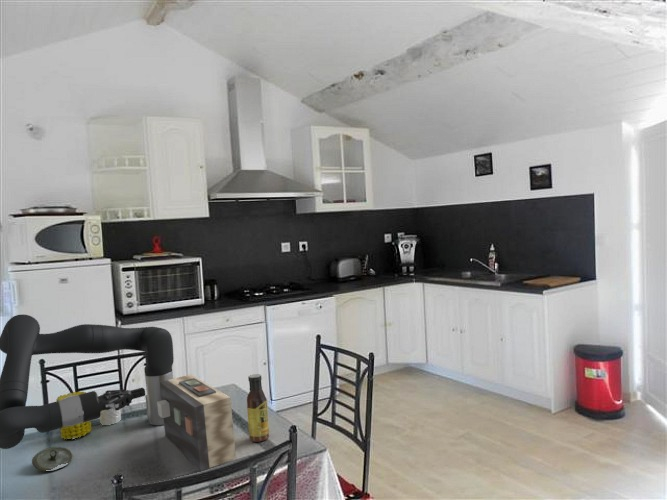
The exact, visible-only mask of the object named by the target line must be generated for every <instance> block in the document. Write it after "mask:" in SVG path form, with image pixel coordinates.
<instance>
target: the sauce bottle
mask: <svg viewBox="0 0 667 500" xmlns="http://www.w3.org/2000/svg"><path fill="white" fill-rule="evenodd" d="M248 383H249V392H248V394H247V398H246V411H247V423H248V435H249V439H250V441H251V442H253V443H260V442H264V441H267V440H268V439H269V437H270V423H269V410H268V409H269V408H268V399H267V397H266V395H265V392H264V390H263V386H262V374H260V373H254V374H250V375H248Z"/></svg>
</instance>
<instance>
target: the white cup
mask: <svg viewBox="0 0 667 500" xmlns="http://www.w3.org/2000/svg"><path fill="white" fill-rule="evenodd" d="M104 393H105V392H102V393H101V394H97V395H98V396H100V395H103V394H104ZM121 411H122V408H121V409H120V410H115V408H114V409H112V410H102V411H101V412H100V417H99V418H98V419H99V422H100V423H101V424H103V425H109V424H114V423H117V422H119V421H120V420H122V414H121V413H122V412H121ZM120 422H121V421H120ZM120 422H119V423H120ZM101 424H100V425H101ZM117 424H118V423H117ZM114 425H115V424H114Z"/></svg>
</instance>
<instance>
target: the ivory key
mask: <svg viewBox="0 0 667 500" xmlns="http://www.w3.org/2000/svg"><path fill="white" fill-rule="evenodd" d="M157 405H158V415H159V416H160V417H162V418H165V417H169V416H170V406H169V402H167V401H166V400H162V401H158V402H157Z"/></svg>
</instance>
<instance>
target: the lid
mask: <svg viewBox="0 0 667 500" xmlns="http://www.w3.org/2000/svg"><path fill="white" fill-rule="evenodd" d="M72 460H73V453H72V451H71V450H70V449H68V448H66V447H63V446H62V447H61V446H53V447H45V448H44V449H42V450H40V451H38V452H37V453H36V454H35V455H33V457H32V460H31V464H32V466H33V467H34V468H35V469H36V470H38V471H40V472H43V471H46V470H51V469H53V468H55V467H57V466H58V465H61V464H66V463H69V462H70V463H71V462H72ZM70 463H69V464H70Z"/></svg>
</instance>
